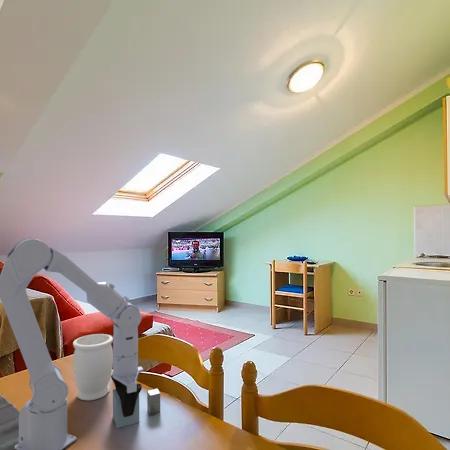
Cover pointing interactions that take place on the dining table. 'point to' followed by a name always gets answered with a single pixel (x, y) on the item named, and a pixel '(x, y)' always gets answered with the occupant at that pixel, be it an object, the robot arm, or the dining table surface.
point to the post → (153, 402)
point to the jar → (93, 365)
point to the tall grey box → (118, 413)
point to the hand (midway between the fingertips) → (125, 409)
